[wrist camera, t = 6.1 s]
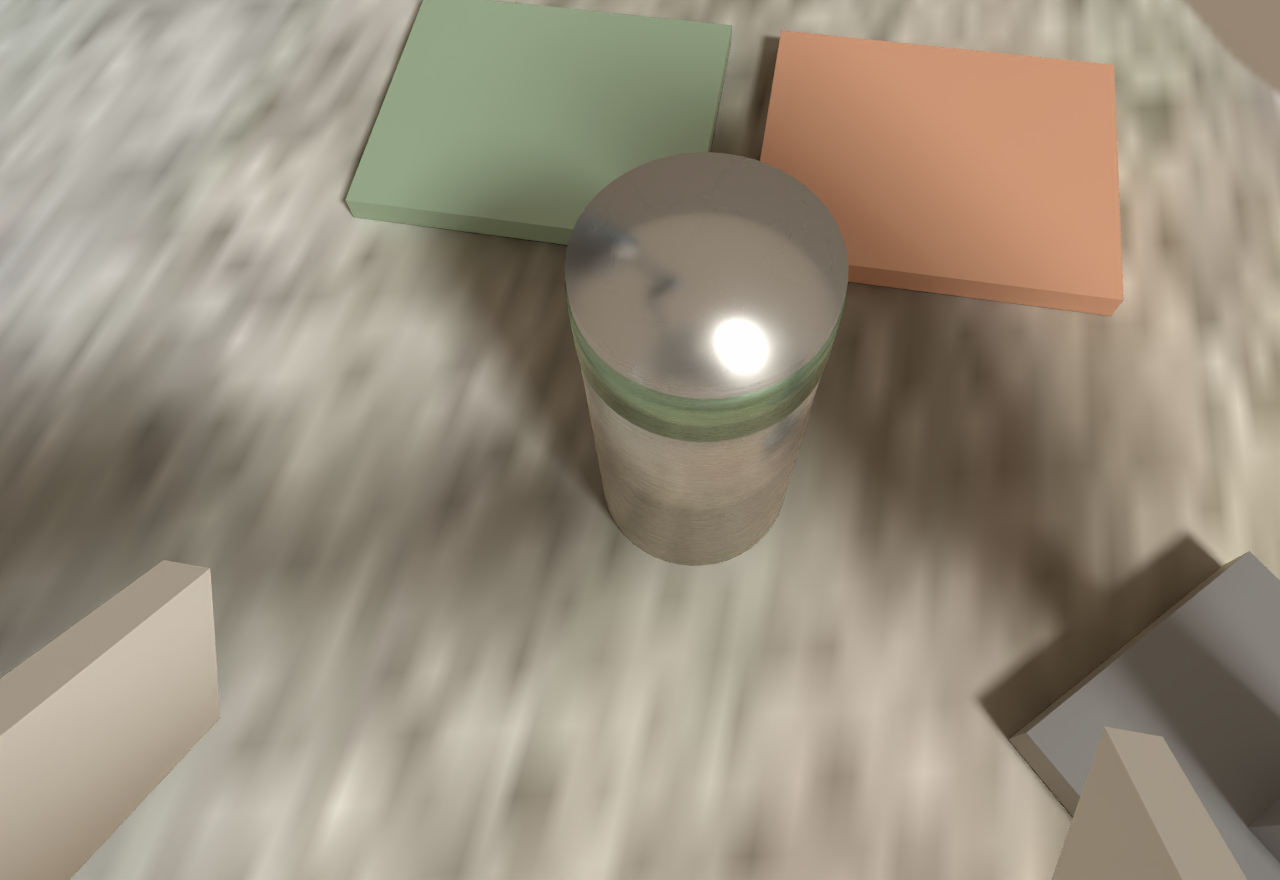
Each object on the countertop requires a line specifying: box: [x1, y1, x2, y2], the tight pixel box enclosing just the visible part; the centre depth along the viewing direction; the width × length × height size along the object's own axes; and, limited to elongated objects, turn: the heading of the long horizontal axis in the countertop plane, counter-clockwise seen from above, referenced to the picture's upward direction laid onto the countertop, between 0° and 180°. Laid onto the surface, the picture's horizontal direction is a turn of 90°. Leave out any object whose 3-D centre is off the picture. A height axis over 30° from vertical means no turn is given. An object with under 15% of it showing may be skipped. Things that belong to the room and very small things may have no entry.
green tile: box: [345, 0, 732, 245], centre depth 37 cm, size 11×13×1 cm
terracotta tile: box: [760, 30, 1123, 316], centre depth 35 cm, size 11×13×1 cm
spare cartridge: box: [565, 152, 849, 566], centre depth 25 cm, size 6×6×12 cm
